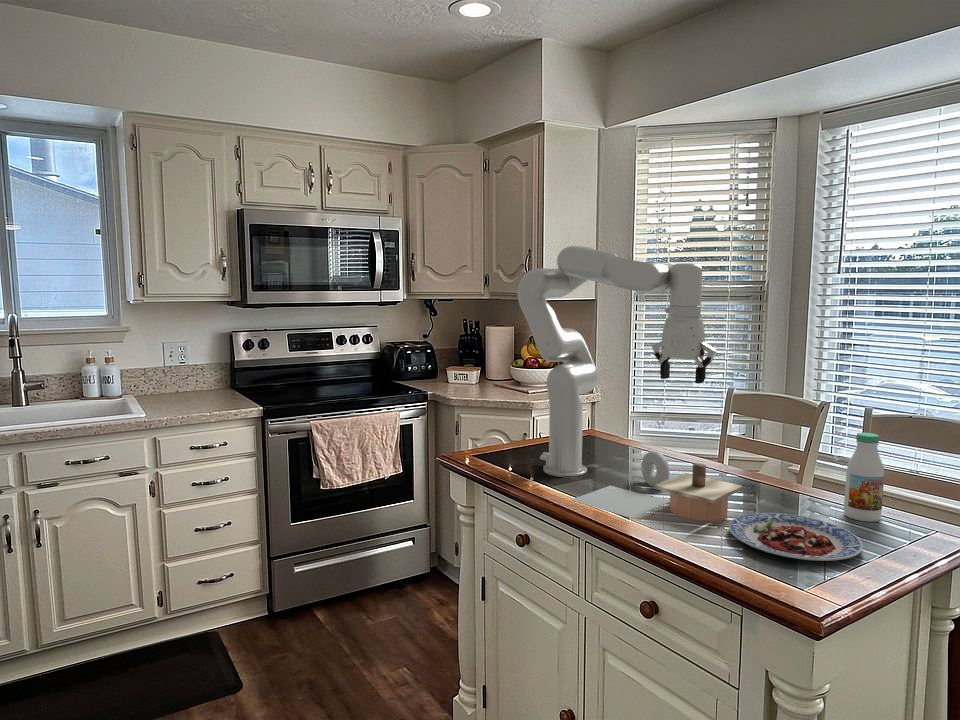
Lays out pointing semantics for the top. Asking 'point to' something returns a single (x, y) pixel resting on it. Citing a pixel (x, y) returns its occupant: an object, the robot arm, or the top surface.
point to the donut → (648, 468)
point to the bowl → (698, 508)
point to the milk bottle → (864, 480)
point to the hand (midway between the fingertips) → (682, 380)
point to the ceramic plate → (796, 536)
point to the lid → (699, 486)
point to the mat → (620, 501)
